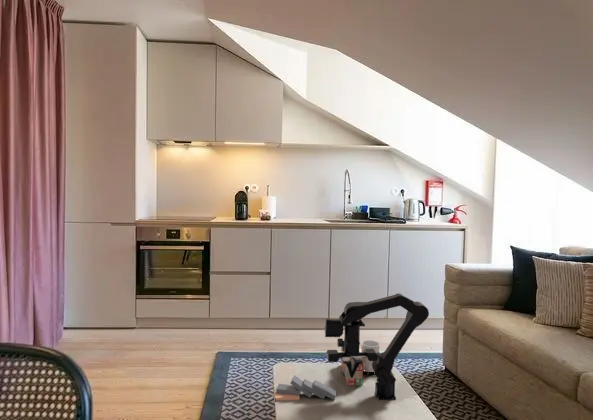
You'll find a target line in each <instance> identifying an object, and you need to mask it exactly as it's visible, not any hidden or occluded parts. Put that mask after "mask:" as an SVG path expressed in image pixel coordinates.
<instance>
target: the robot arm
mask: <svg viewBox="0 0 593 420" xmlns="http://www.w3.org/2000/svg"><path fill="white" fill-rule="evenodd" d="M397 307H401V308H403V309H405V310H406V311H407V312H406V314H405V320H404V322H403V323H402V325H401V326H400V328H399V329H398V331H397V332H396V333H395V335H394V337H393V338H392V340H391V341H390V342H389V344H388V346H387V347H386V349H385V350H384V351H383V352H382V353H380V351H379V352H377V353H376V352H375V350H374V349H364V352H362V351H361V352H359V348H360V345H361V341H360V340H361V339H360V338H361V337H360V335H361V332H360V330H361V327H365V326H366V323H365V322H364V321H363V320H362V319H364V318H365V317H366V316H368V315H370V314H373V313H376V312H377V313H378V312H380V311H385V310H389V309H393V308H397ZM429 312H430V311H429V309H428V307H426V306H425V305H424V304H423V303H422V302H421V301H413V300H412V299H410V298H408V297H407V296H404V294H402V293H400V292H399V293H395V294H393V295H389V296H386V297H380V298H376V299H374V300H370V301H353V302H347V303H346V305H345V306H344V308H343V312H342V313H341V314H340V315H339V316H338V318H325V325H324V338H336V340H337V347H338V348H341V347H342V349H343V351H344V353H342V352H338V349H328V350H327V351H326V352H325V353H326V355H325V356H326V359H327V362H328V363H337V362H339V360H340V359H341V362H342V361H343V363H344V364H346V365H347V368H348V371H349V375H350V377H351V378H353V376H354V374H355V372H356V370H357V368H358V366H359V365H360V364H361V363H363V362H362V357H367V359H368V360H369V361H373V363H372V368H373V371H374V375H375V376H376V382H375V386H374V388H375V389H374V391H375V393H374V394H375V395H376V396H377V398H378V400H396V399H397V396H396V395H395V392H396V388H395V387H396V381H397V379H396V377H395V375H394V373H393V372H392V371H393V367H394V364H395V360H396V358H397V356H398V355H399V353H400V352H401V350H402V349H403V347H404V346H405V344H406V343H407V342H408V340H409V338H410V337H411V336H412V334H413V332H414V331H415V329H416V328H417V327H419V326H421V325H422V324H423V323H424V322H425V321H427V319H428V318H429V315H430V313H429ZM343 335H344V338H341V337H342V336H343ZM350 358H352V365H351V361H350Z"/></svg>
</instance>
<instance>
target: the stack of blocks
mask: <svg viewBox="0 0 593 420" xmlns="http://www.w3.org/2000/svg"><path fill="white" fill-rule="evenodd" d="M340 349H341V350H340V351H341V352H340V353H344V351H343V349H342V347H340ZM359 352H362V348H361V347H359ZM363 360H364V357H362V362H363ZM350 361H351V365H352V358H350ZM341 368H342V372H343V374H344V377H345V381H346V385H347V386H363V385H364V372H363V363H361V364H360V365H359V366H358V368H357V370H356V372H355V374H354V376H353V378H351V377H350V375H349V371H348V368H347V365H346V364H344V363H343V361H342V360H341Z"/></svg>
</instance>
